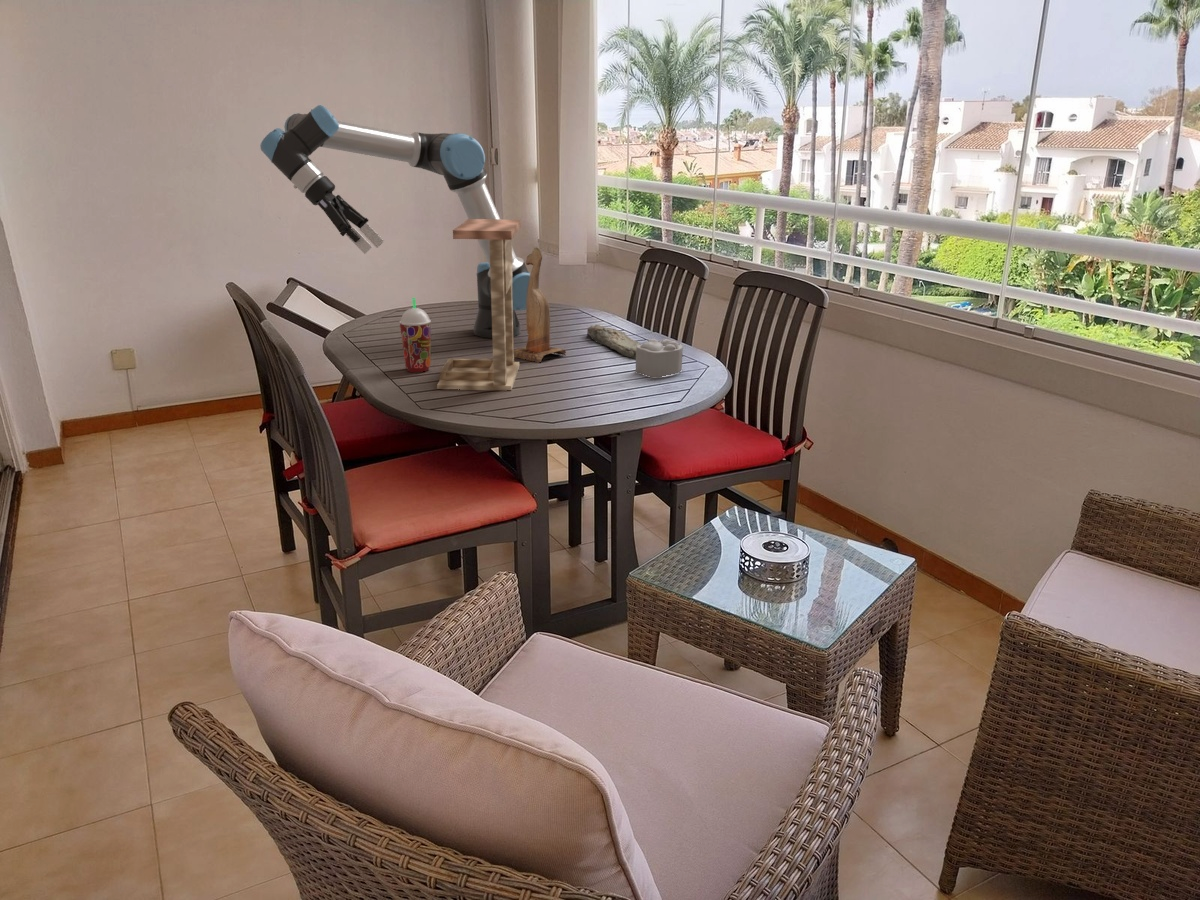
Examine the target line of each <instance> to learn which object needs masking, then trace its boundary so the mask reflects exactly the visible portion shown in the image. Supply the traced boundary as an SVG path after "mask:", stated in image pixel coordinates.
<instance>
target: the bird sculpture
mask: <svg viewBox="0 0 1200 900" xmlns="http://www.w3.org/2000/svg"><path fill="white" fill-rule="evenodd" d="M525 260H526V261H525V265H526V266H529V265H531V266H532V269H531V271H530V278H529V283H528V289H527V300H526V310H525V313H526V314H525V315H526V316H525V317H526V319H525V320H526V321H525V322H526V331H527V335H528V337H527V341H526V344H525V346H524V347H519V348H516V349H515V348H514V358H516V359H522V360H525V359H526V360H525V361H530V362H534V361H535V363H538V362H541V363H542V359H543V358H544V357H545V356H547V355H549V354H555V355H558V354H559V355H561V356H566V354H567V352H566V350H565V349H563V348H558V347H551V346H550V345H551V317H550V316H551V312H550V311H551V310H550V303H549V302H548V300H547V298H546V296H545V295H544V294H543V292H542V291H541V290H539V287H540V271H541V265H542V261H543V254H542V251H541V249H540V248H538V246H537V247H536V246H534V248H533V250H532V252H531V253H529V255H527V257H526V259H525Z"/></svg>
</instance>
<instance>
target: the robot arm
mask: <svg viewBox="0 0 1200 900" xmlns="http://www.w3.org/2000/svg"><path fill="white" fill-rule="evenodd" d="M283 126H284V130H283V129H282V128H277V127H276V128H274V129H273V130H272V131H270V132H269V133H268V134H266V135H265V137H263V139H262V141H261V143H260V150H261V152H262V153H263V154H264V155H265V156H266V157H267V158H268V159H269V161H270V162H271V164H273V165H274V166H275V167H276V168H277V169H278V170H279V172H281V174H283V175H284V176H285V177H286V178H287V179H288V180H289V181H290V182H291V183H292V184H293V188H294V189H298V191H300V193H302V194H304V197H305V198H306V199H307V200H308V201H309V202H310V203H311V204H312V205H314V206H319V208H320V209H321V210H323V212H324V213H325V215H326V216H327V217H328V218H329V220H330V222H332V224H333V225H334V227H335V228H336V229H337V231H338V232H339V235H341V236H342V237H345V236H347V238H348V239H349V240H350V241H351V242H353V244H354V245H355V246H356V247H357V248H358V249H359V250H360V251H361V252H362V253H363V254H364V255H366V254H367V253H368V252H369V250H371V249H372V248H373V246H374V247H375V248H376V249H378V248H380V246H381V245H383V243H384V242H385V240H384V239H383V238H382V236H380V234H379V233H378V232H376V230H374V228H373V227H372V226H371V225H370V224H369V223H368V222H369V221H370V220H369V219H368V218H367V217H364V216H363V215H362V214H361V213H360V212H358V211H357V210H356V209H355V208H354V207H353V206H352V205H350V204H349V203H348V202H347V201H346V200H345V199H344V198H343V197H342V196H341V195H340V194H337V195H335V194H334V193H333V192H334V191H335V189H336V185H335V184H334V182H333V181H332V180H331V179H330V178H329V177H328V176H326V175H324V172H323V171H322V170H321V169H320V168H319V166H318V165H317V164H315V162H313V161H312V159H311V158H310V157H309V156H311V155H312V154H313V153H314V152H315V151H316V150H317V149H319V148H325V149H331V150H337V151H343V152H346V153H348V152H349V153H352V154H353V153H355V154H359V155H360V154H361V155H365V156H371V157H377V158H382V159H388V160H393V161H399V162H403V163H404V162H406V163H408V164H409V166H410V167H411V168H418V169H423V170H426V171H429V172H431V173H433V174H434V173H435V174H437V175H440V176H443V178H444V180H445V183H446V184H447V187H448V189H449V191H451V192H452V193H456V194H457V196H458V198H459V201H460V202H461V205H462V209H464V212H465V214H466V217H467V220H468V219H500V220H502V218H500V215H499V213H498V210H497V208H496V206H495V203H494V201H493V198H492V196H491V194H490V191H489V188H488V186H487V184H486V179H487V176H488V173H487V170H486V168H485V163H486V154H485V151H484V149H483V147H482V145H481V143H480V142H479V141H478V140H476V139H475V138H474V137H472V136H471V135H468V134H464V133H459V132H457V133H446V132H443V133H424V132H423V133H422V132H418V131H413V132H412V133H411V134H409V133H408V134H407V133H403V132H397V131H392V130H387V129H383V128H382V129H381V128H377V127H371V126H368V125H367V126H366V125H361V124H357V123H356V124H355V123H351V122H345V121H340V120H337V119H336V117H335V116H334V115H333V113H332V112H331V111H330V110H329V109H328V108H326V107H325V106H324V105H321V104H318V105H317V106H315V107H314V108H312V109H310V111H309V112H308V113H300V112H299V113H297V112H296V113H293V114H292V115H290V116H289V117H287V119H286V120H285V123H284V125H283ZM351 224H353V225H354V226H356V227H357V228H358V230H359V231H360V232H359V231H358V230H357V229H356V228H355V227H352V225H351ZM361 233H362V234H363V235H364V236H365V237H364V236H363V235H362V234H361ZM368 240H369V241H368ZM370 242H371V243H370ZM477 242H478V243H479V245H480V248H481V250H482V252H483V255H484V257H485V260H486V261H485V262H480V263H478V264H477V266H476V281H477V282H476V283H477V299H478V300H477V303H478V304H477V307H478V310H477V314H476V318H475V321H474V323H473V334H474V335H475V336H477V337H481V338H490V339H492V307H491V274H490V241H489V239H477ZM371 244H373V246H372V245H371ZM530 274H531V272H529V271H528V268H527V265H526V262H525V260H524V258H521V257H519V256H518V255H516V253H515V250H514V248H513V246H512V280H513V283H512V298H513V337H516V336H518V335H520V334H521V324H520V321H519V319H518V316H517V311H526V300H527V289H528V283H529V278H530ZM539 290H540V286H539ZM540 291H541V290H540Z"/></svg>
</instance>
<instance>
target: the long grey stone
mask: <svg viewBox="0 0 1200 900" xmlns="http://www.w3.org/2000/svg"><path fill="white" fill-rule="evenodd" d="M586 330H587V332H586V333H587V335H588V336H590V338H591V339H592V338H593V339H592V340H594V339H595V340H594V341H595V342H596V341H597V342H596V343H598V342H599V343H598V344H601V345H603V346H605V347H606V346H607V347H608V348H610V349H611V350H614V351H616V352H617V353H619V354H620V353H621V355H622V354H623V355H622V356H624V355H625V357H628V358H631V359H634V358H636V347H637V346H638V345H642V344H641V343H640V342H638V341H636V340H634V339H632V338H631V337H629V336H628V335H627V334H626V333H625V332H624V331H621V330H618V329H616V328H611V327H605V326H603V325H600V324H595V325H590V326H589V327H587V329H586Z"/></svg>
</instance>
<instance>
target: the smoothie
mask: <svg viewBox="0 0 1200 900" xmlns="http://www.w3.org/2000/svg"><path fill="white" fill-rule="evenodd" d="M416 304H417V303H416V297H412V307H410V308H408V309H406V310H405V311H404V313H403V314H402V316H401V318H400V320H399V321H398V322H399V327H400V328H399V329H400V335H401V342H402V350H403V359H404V366H405V367H406V369H407V371H408V372H410V373H414V372H420V373H424V372H423V371H425V372H427V370H428V371H429V369H430V367H431V364H432V363H431V355H432V354H431V352H432V349H431V347H432V346H431V340H432V339H431V336H432V331H431V329H432V327H431V326H432V325H431V323H432V320H431V319H430V317H429V315H428V314H427V312H426V311H425V310H423V309H421V308H420V307H417V306H416Z"/></svg>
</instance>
